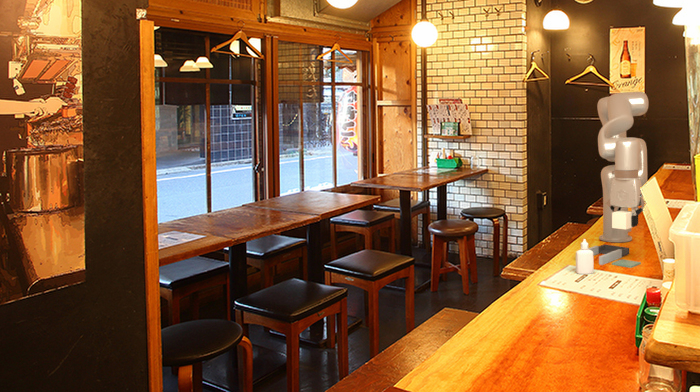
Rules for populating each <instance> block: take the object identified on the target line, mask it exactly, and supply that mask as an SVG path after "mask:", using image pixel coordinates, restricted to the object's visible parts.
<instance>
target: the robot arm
mask: <svg viewBox="0 0 700 392" xmlns="http://www.w3.org/2000/svg"><path fill="white" fill-rule="evenodd" d="M596 107H597V113H598V118H599V120H600V122H601V125H602V127H601V128H600V129H599V132H598V135H597V147H598V154H599V156H600V157H601V158H602V159H605V160H606V161H608V162H611V163H612V162H614V164H611V165H607V166H604V167H603V168H602V169H601V170H600V171H601V172H600V179H601V185H602V186H601V187H602V203H603V204H602V206H603V207H602V208H603V209H602V212H603V213H602V214H603V215H602V216H603V217H602V218H603V223H602V224H603V226H602V227H603V230H602V232H603V233H602V234H600V235H599V240H600V241H602V242H607V243H608V242H609V243H628V242H631V241H632V239H633V237H632V236H631V235H629V233H630V232H632V228H634V227H637V226H638V225H639V215H640V214H641V213H642V212H643V211H644V210H643V207H644V204H645V203H644V201H645V199H644V196H643V195H642V193H641V190H640V187H642V186H643V185H644V184H645V183H646V182H648V149H647V143H646V141H645V140H644V139H642V138H640V137H639V138H638V137H627V131H628V130H630V129H631V128H632V127H633V125H634V120H635V119H634V117H638V116H639V117H640V116H642V115H644V114H646V113H647V112H648V109H649V98H648V96H647V94H646V93H645V92H643V91H628V92H617V93H614V94H611V95H610V96H605V97H602V98H600V99H599V100H598V102H597V105H596ZM646 184H647V183H646ZM642 188H643V187H642ZM629 208H630V209H631V211H632V213H633V215H632V216H631V226H632V228H629V229H617V228H612V213H613V212H616V211H620V210H624V211H629Z"/></svg>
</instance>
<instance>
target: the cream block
mask: <svg viewBox="0 0 700 392" xmlns="http://www.w3.org/2000/svg"><path fill="white" fill-rule="evenodd" d="M632 215H633V213H632V210H628V211H624V210H620V211H616V212H613V213H612V228H617V229H629V228H631V229H632V228H633V227H632V226H631V216H632Z"/></svg>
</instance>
